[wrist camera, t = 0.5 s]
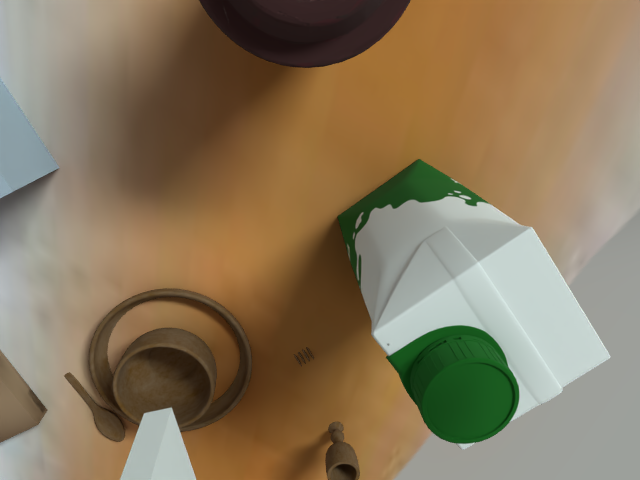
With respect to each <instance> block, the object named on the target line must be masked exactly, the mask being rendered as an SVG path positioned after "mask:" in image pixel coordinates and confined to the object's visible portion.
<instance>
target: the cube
mask: <svg viewBox="0 0 640 480" xmlns="http://www.w3.org/2000/svg"><path fill="white" fill-rule="evenodd" d="M58 168H59V166H58V165H57V163H56V162H55V160H54V159H53V157H52V156H51V154H50V153H49V151H48V150H47V148H46V147H45V145H44V143H43V142H42V140H41V139H40V137H39V136H38V134H37V133H36V131H35V130H34V128H33V127H32V125H31V124H30V122H29V121H28V119H27V118H26V116H25V115H24V113H23V112H22V110H21V108H20V107H19V105H18V104H17V102H16V101H15V99H14V98H13V96H12V95H11V93H10V92H9V90H8V89H7V87H6V86H5V84H4V83H3V81H2V80H1V78H0V198H2V197H4V196H6V195H8V194H9V193H11V192H13V191H15V190H17V189H19V188H21V187H23V186H25V185H27V184H29V183H31V182H33V181H35V180H37V179H39V178H41V177H42V176H44V175H46V174H48V173H50V172H52V171H54V170H56V169H58Z"/></svg>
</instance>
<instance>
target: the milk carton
mask: <svg viewBox="0 0 640 480" xmlns="http://www.w3.org/2000/svg"><path fill="white" fill-rule="evenodd" d="M338 220H339V224H340V227H341V231H342V234H343V238H344V241H345V245H346V248H347V252H348V255H349V259H350V262H351V265H352V268H353V271H354V273H355V276H356V279H357V282H358V284H359V287H360V290H361V293H362V295H363V298H364V301H365V304H366V307H367V309H368V312H369V315H370V318H371V320H372V332H371V334H372V336H373V338H374V339H375V340H376V341H377V343H378V344H379V345H380V346H381V347H382V349H383V350H384V351H385V352H386V354H387V355H388V356H386V358H387V359H388V361H389V362H390V363H391V365H392V366H393V367H394V368H395V370H396V371H397V372H398V373H399V376H400V379H401V381H402V383H403V386H404V387H405V389H406V391H407V393H408V394H409V396H410V397H411V399H412V400H413V401H414V402H415V404H416V405H417V406H418V408H419V411H420V413H421V415H422V418H423V420H424V422H425V423H426V425H427V427H428V428H429V429H430V430H431V431H432V432H433V433H434V434H435V435H436V436H438V437H439V438H441V439H443V440H446V441H448V442H452V443H456V444H457V445H458V446H459V447H460V448H461V449H463V450H464V449H466V448H468V447H469V446H471V445H473V444H474V443H476V442H480V441H483V440H485V439H488V438H490V437H492V436H494V435H495V434H497V433H498V432H499V431H501V430H502V429H503V428H504V427H505V426H506V425H507V424H508V423H509V422H511V421H513V420H514V419H516V418H518V417H519V416H521V415H523V414H524V413H526V412H528V411H529V410H531V409H532V408H534V407H536V406H537V405H539V404H543V403H545V402H547V401H548V400H550V399H552V398H553V397H555V396H557V395H558V394H560V393H561V392H562V391H563V390H562V387H564V386H566V385H567V384H569V383H570V382H572V381H574V380H575V379H577V378H579V377H580V376H582V375H583V374H585V373H586V372H588V371H590V370H592V369H593V368H595V367H596V366H598V365H599V364H601V363H603V362H604V361H606V360H607V359H609V358H610V355H609V353H608V351H607V350H606V348H605V346H604V345H603V343H602V342H601V340H600V338H599V337H598V335H597V333H596V332H595V330H594V328H593V327H592V325H591V323H590V322H589V320H588V318H587V317H586V315H585V313H584V312H583V310H582V309H581V307H580V305H579V304H578V302H577V300H576V299H575V297H574V295H573V294H572V292H571V291H570V289H569V287H568V285H567V284H566V282H565V281H564V279H563V277H562V276H561V274H560V272H559V271H558V269H557V267H556V266H555V264H554V262H553V261H552V259H551V257H550V256H549V254H548V253H547V251H546V249H545V248H544V246H543V244H542V243H541V241H540V239H539V238H538V236H537V234H536V233H535V231H534V230H533V228H532V227H527V226H522V225H520V224H518V223H517V222H515V221H514V220H512V219H511V218H510V217H508V216H507V215H505V214H504V213H502V212H501V211H499V210H498V209H497V208H495V207H494V206H492V205H491V204H489V203H488V202H486V201H485V200H483V199H482V198H481V197H479V196H478V195H476V194H475V193H473V192H472V191H470V190H469V189H467V188H466V187H464V186H463V185H461V184H460V183H458V182H457V181H455V180H453V179H452V178H450V177H448V176H447V175H445V174H443V173H442V172H440V171H438V170H437V169H435V168H433V167H432V166H430V165H428V164H427V163H425V162H423V161H422V160H420V159H418V160H417V161H415V162H414V163H413V164H411V165H410V166H408V167H407V168H406V169H404V170H403V171H401V172H400V173H398V174H397V175H396V176H394V177H393V178H391V179H390V180H389V181H387V182H386V183H384V184H383V185H381V186H380V187H379V188H377V189H376V190H374V191H373V192H372V193H370V194H369V195H367V196H366V197H364V198H363V199H362V200H360V201H359V202H357V203H356V204H355V205H353V206H352V207H350V208H349V209H347V210H346V211H345V212H343V213H342V214H340V215H339V216H338Z"/></svg>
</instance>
